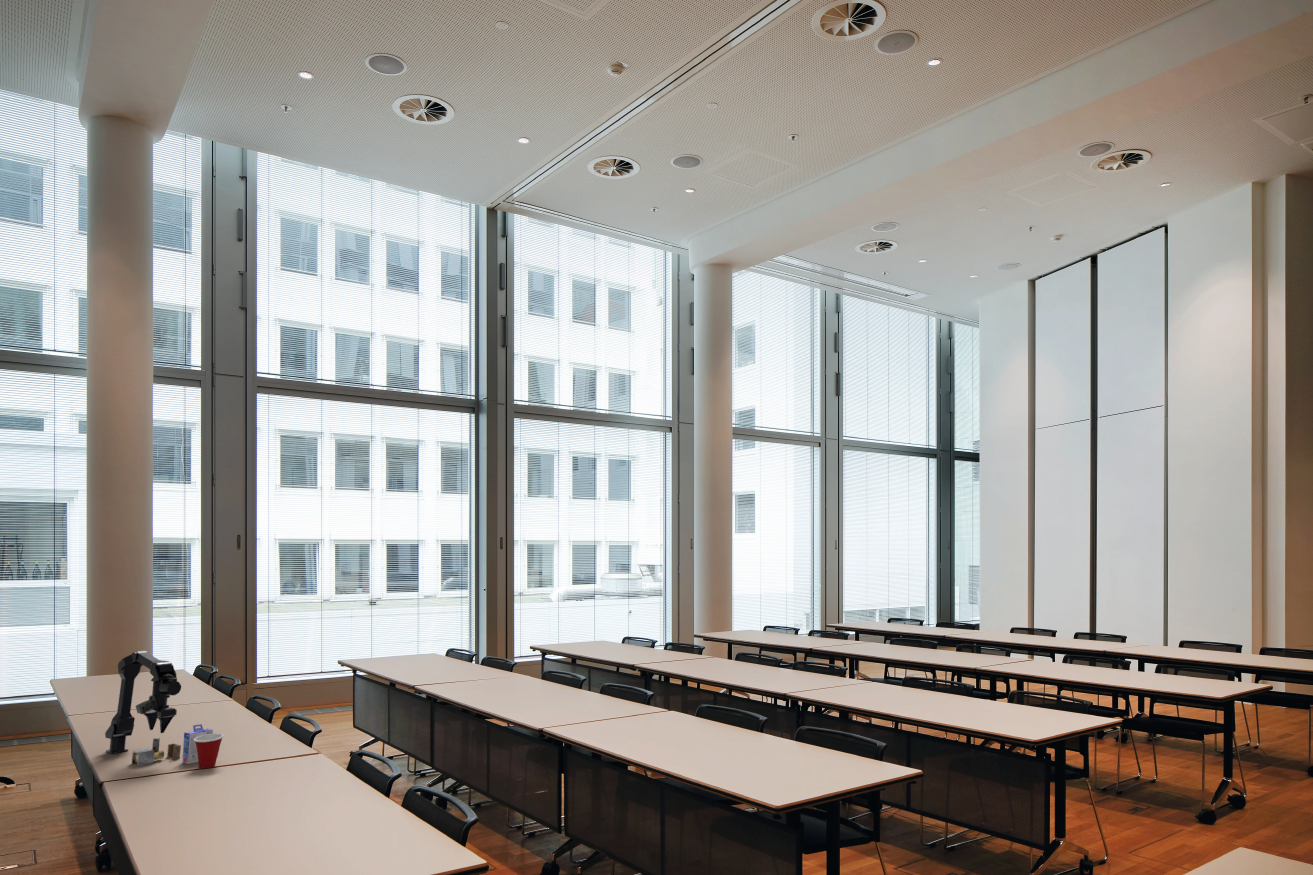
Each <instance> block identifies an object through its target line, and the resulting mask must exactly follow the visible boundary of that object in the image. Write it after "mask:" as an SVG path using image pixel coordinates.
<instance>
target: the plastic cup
mask: <svg viewBox="0 0 1313 875" xmlns="http://www.w3.org/2000/svg"><path fill="white" fill-rule="evenodd" d="M223 738H224V733H223V734H222V733H217V732H216V733H213V734H206V735H202V736H198V737H196V738H194V741H195V743H196V747H197V755H198V762H197V763H198V768H199V769H211V768H214V767H215V766H216V763H217V759H218V757H219V756H218V755H219V753H220V746H221V744H222V741H223Z"/></svg>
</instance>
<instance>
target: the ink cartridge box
mask: <svg viewBox="0 0 1313 875" xmlns="http://www.w3.org/2000/svg"><path fill="white" fill-rule="evenodd" d="M196 727H198V728H196ZM192 728H193V729H192V730H191V731H186V732H184V733H183V748H182V763H183V764H185V765H190V764H195V763H198V755H197V747H196V743H195V741H194V738H196V737H198V736H202V735H206V734H214V729H211V728H203V724H202V723H199V724H194V725H192Z"/></svg>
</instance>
